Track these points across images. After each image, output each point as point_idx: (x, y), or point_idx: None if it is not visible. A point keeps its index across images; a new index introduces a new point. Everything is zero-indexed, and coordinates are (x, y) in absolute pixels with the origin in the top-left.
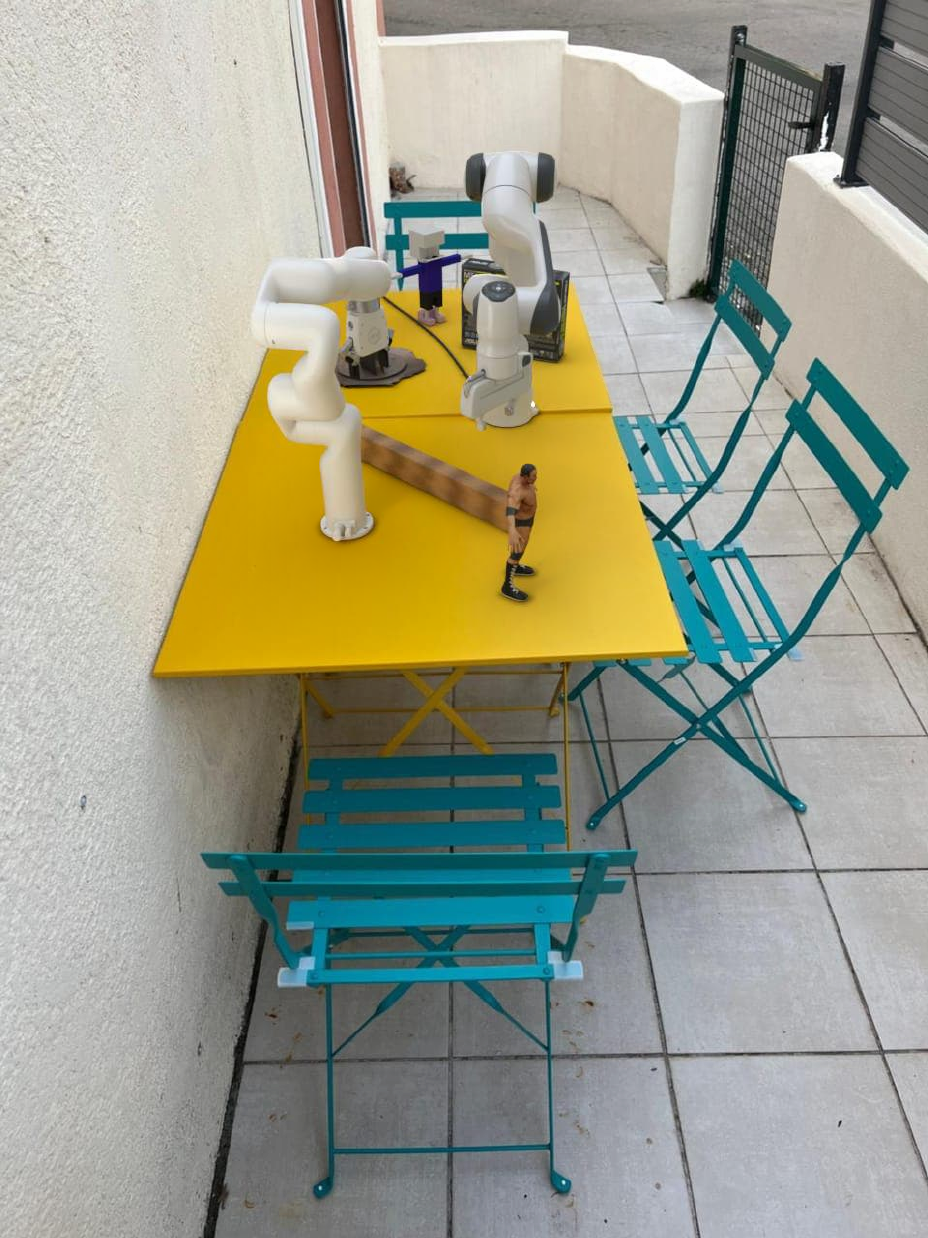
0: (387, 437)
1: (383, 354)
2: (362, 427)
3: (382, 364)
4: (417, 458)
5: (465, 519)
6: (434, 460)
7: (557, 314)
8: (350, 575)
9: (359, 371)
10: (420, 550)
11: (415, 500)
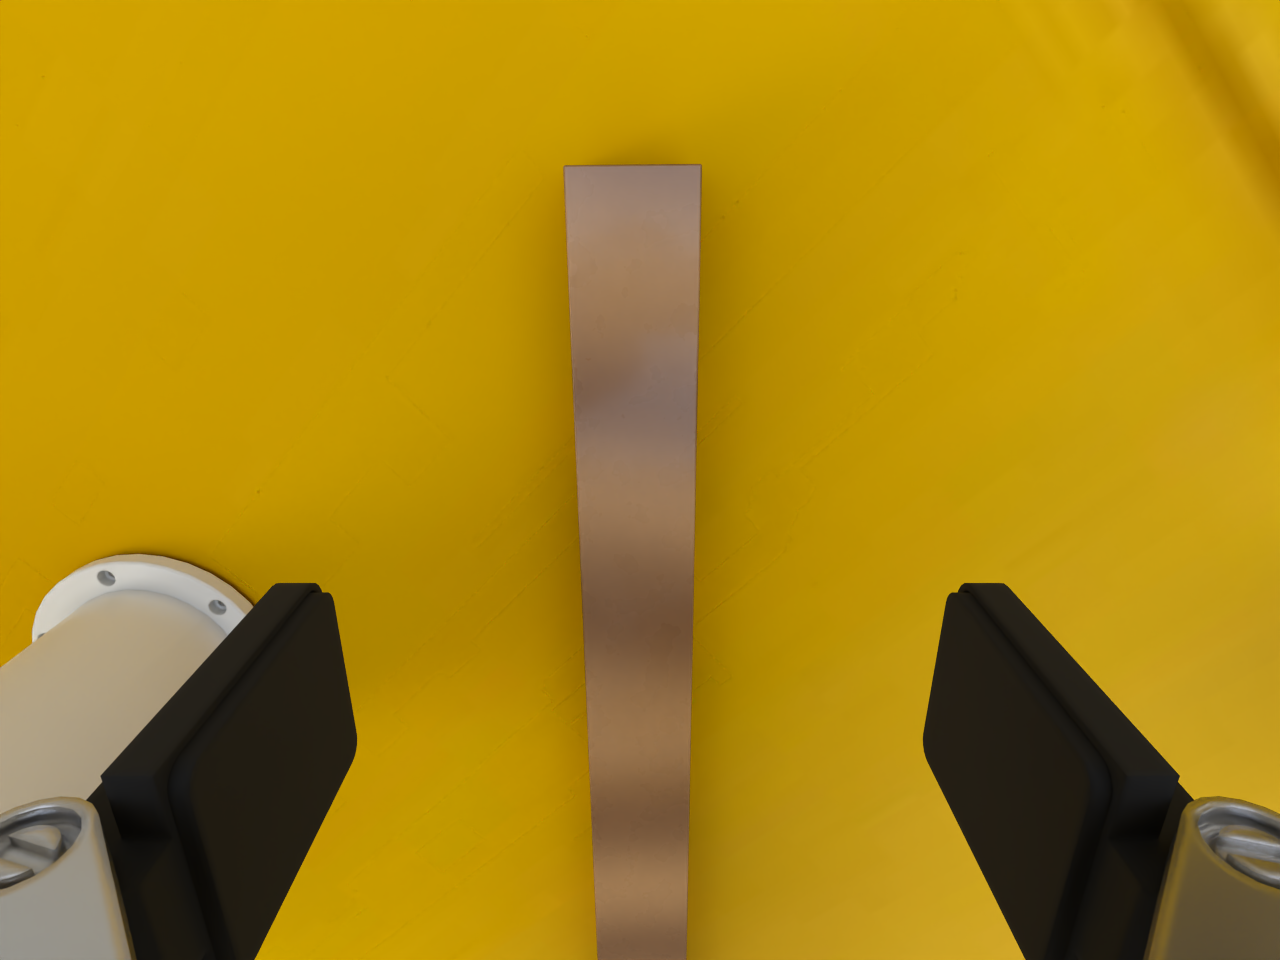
0: (678, 465)
1: (1026, 889)
2: (664, 223)
3: (942, 692)
4: (618, 744)
5: (564, 908)
6: (664, 810)
7: None
8: None
9: (300, 860)
10: (310, 918)
11: (518, 718)
